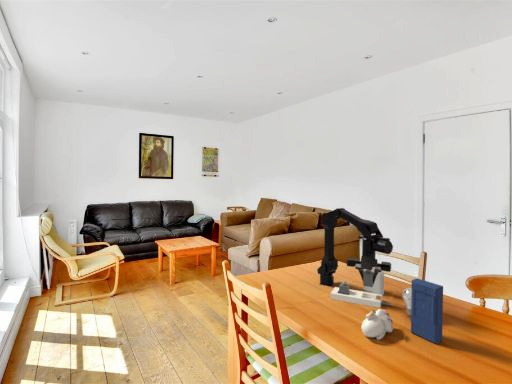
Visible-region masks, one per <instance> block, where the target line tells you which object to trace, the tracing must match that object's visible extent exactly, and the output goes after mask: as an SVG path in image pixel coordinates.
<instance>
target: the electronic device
mask: <svg viewBox="0 0 512 384" xmlns="http://www.w3.org/2000/svg"><path fill="white" fill-rule="evenodd" d="M411 289H412V295H411V316H410V332H411V333H412V334H415V335H416V336H418V337H421V338H423V339H425V340H427V341H429V342H431V343H434V344H436V345H438V344H439V343H441V342H443V324H444V323H443V319H444V318H443V317H444V315H443V314H444V309H443V308H444V286H443V285H440V284H438V283H435V282H431V281H427V280H424V279H420V278H414V279H412V280H411Z"/></svg>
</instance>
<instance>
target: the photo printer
mask: <svg viewBox="0 0 512 384" xmlns="http://www.w3.org/2000/svg"><path fill="white" fill-rule="evenodd" d="M374 270H375V267H373V268H372V270H371V271H372V272H374ZM364 271H367V269H364ZM362 286H363V285H362ZM363 290H364V291H365V292H368V293H374V294H380V295H382V296H383V295H385V273H384V271H382V272H379V273H378V274H377V276H376V279H375V282H374V285H373V287H367V286H363Z"/></svg>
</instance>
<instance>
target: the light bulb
mask: <svg viewBox="0 0 512 384" xmlns="http://www.w3.org/2000/svg"><path fill="white" fill-rule="evenodd" d="M401 294H402V295H401V297H402V300H403V301H404V304H405V308H406V314H407V315H409V316H410V317H411V295H412V289H411V287H407V288H405V289H404V290H403V291H402V293H401Z"/></svg>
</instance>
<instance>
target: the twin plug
mask: <svg viewBox="0 0 512 384" xmlns="http://www.w3.org/2000/svg"><path fill="white" fill-rule="evenodd" d="M338 287H339V294H345V295H349V291H350V287H351V286H350V284H349V283H347V281H344V280H343V281H342V282H340V284H339V285H338Z"/></svg>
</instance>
